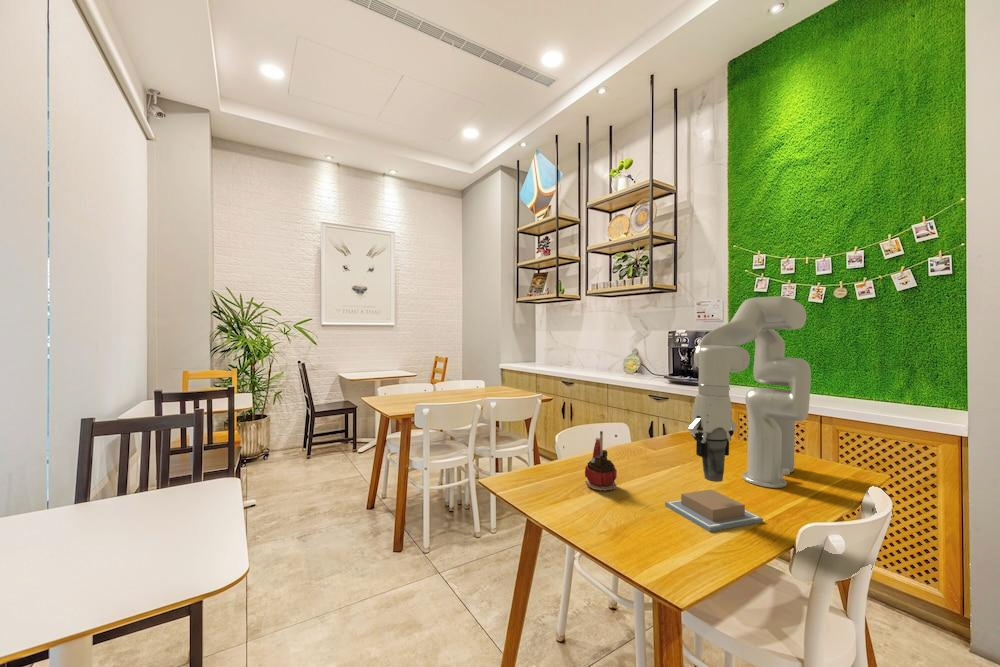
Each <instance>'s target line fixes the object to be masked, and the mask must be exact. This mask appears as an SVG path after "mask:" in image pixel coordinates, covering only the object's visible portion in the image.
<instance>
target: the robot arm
mask: <svg viewBox="0 0 1000 667" xmlns="http://www.w3.org/2000/svg"><path fill="white" fill-rule="evenodd" d="M806 311H807V310H806V308H805V307H804V306H803V304H802V303H800V302H798V301H796V300H794V299H793V298H790V297H788V296H783V295H781V296H780V295H779V296H778V295H774V296H757V297H750V298H747V299H745V300H743V302H742V303H741V304H740V305H739V307H738V308H737V311H736V312H735V314H734V315H733V317H732V318H731V320H730V322H728V323H726V324H723V325H721V326H719V327H717V328H715V329H713V330H711V331H710V332H707V333H706V334H705V335H704V336H702V338H701V339H700V341H699V342H698V344H697V346H696V348H695V350H694V354H693V362H694V364H695V366H696V367H697V368H698V393H697V395H696V396H695V399H694V404H693V409H692V410H693V411H692V418H691V420H692V423H691V424H690V425H689V427H688V428H687V429H688V431H689V433H690V435H691V437H692V438H693V439H694V441H695V442H696V444H695V445H696V452H695V453H696V454H695V455H697V456H698V457H700V458H702V457H703V458H707V443H705V442H706V439H707V437H708V434H709V433H712V432H713V430H715V429H716V428H723V429H724V430H725V431H726V434H727V438H728V440H727V445H726V449H725V457H727V456H728V457H729V455H730V442H731V440H732V436H733V435H734V434H735V433H734V432H735V431H736V429H737V428H738V425H737V424H736V423H735V422H734V420H733V409H732V402H731V397H730V391H731V388H730V373H741V372H744V371H745V370H746V369H747V368H748V367H749V365H750V363H751V356H750V353H749V351H748V350H747V349H746V348H743V347H742V346H741V345H745V344H748V343H750V342H755V347H754V348H755V349H754V359H753V360H754V361H753V369H752V370H753V372H752V373H753V379H754V380H755V381H756V382H757V383H760V384H764V385H771V386H772V385H773V386H781V387H790V389H791V390H786V389H777V388H768V387H755V388H751V389H749V390H748V391H747V392H746V394H745V398H744V399H745V406H746V412H747V413H746V414H747V428H748V430H747V431H748V433H747V471H745V472H743V473H742V479H743V480H744V481H746V482H747V483H750V484H753V485H756V486H760V487H765V488H771V489H772V488H773V489H780V488H786V487H787V485H788V484H787V483H788V482H787V480H786V479H785V478H783V476H787V475H790V474H791V473H790V470H789V469H781V451H782V432H781V429H780V427H779V425H778V424H777V422H776V421H775V420H774V418H779V419H786V420H792V421H795V422H801V421H803V422H804V421H805V420H806V419H807V417H808V415H809V411H810V410H809V409H810V399H811V386H812V385H811V381H812V369H811V366H810V364H809V363H808V361H807V360H805V359H804V358H800V357H799V358H798V357H785V355H786V352H785V351H786V342H785V341H784V339H783V338H782V336H781V335H780V334H779V333H778V331H776V330H798V329H801V328H803V326H804V325H805V324H806V321H807V312H806ZM702 429H703V431H702ZM701 433H703V436H702V437H701Z"/></svg>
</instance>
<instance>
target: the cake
mask: <svg viewBox="0 0 1000 667" xmlns="http://www.w3.org/2000/svg"><path fill="white" fill-rule="evenodd" d="M603 433H604V432H603V431H602V430H600V432H599V437H596V438H595V443H594V447H593V452H592V453H593V454H592V457H591V459H590V461H589V462H588V463H587V465H586V466H585V468H584V469H585V470H584V476H585V478H587V479H586V480H585V485H586V486H587V487H588V488H592V489H594V490H596V491H597V490H598V491H610V490H611V491H612V490H615V489H616V487H617V483H616V482H615V480H616V479H617V478H618V477H617V472H618V471H617V469H616V467H615V464H614V463H613V462H612V461H611V459H608V450H605V449H603V444H604V443H603V439H604V438H603V437H604V436H603V435H604V434H603Z"/></svg>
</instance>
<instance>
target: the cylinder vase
mask: <svg viewBox="0 0 1000 667" xmlns="http://www.w3.org/2000/svg"><path fill="white" fill-rule="evenodd" d="M774 420H775V421H776V422H777V424H778V425H779V427H780V429H781V432H782V451H781V469H789V470H790V472H791V473H793V472H794V471H795V442H796V441H795V435H796V434H795V431H796V430H795V428H796V427H795V426H796V421H792V420H786V419H779V418H774Z"/></svg>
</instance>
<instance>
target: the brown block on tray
mask: <svg viewBox="0 0 1000 667" xmlns="http://www.w3.org/2000/svg"><path fill="white" fill-rule="evenodd" d="M680 495H681V498H680V499H677V500H671V501H665V503H664V506H665V507H666V508H669V509H670V510H672V511H674V512H675V513H677V514H679V515H680V516H682V517H683V516H684V518H686V519H687V520H688V521H690V520H691V523H694V524H696V525H697V526H699V527H700V526H701V528H702V529H704V530H705V531H707V532H709V533H711V531H712V532H717V530H718V531H721V530H722V529H723V530H726V529H727V528H728V529H732V528H733V527H734V528H739V527H745V526H749V524H750V525H754V524H753V523H755V524H759V523H758V522H761V523H763V522H764V517H761V516H760V515H757V514H755V513H753V512H751V511H748V510H747V509H746V507H745V506H746V505H745V504H744V503H742V502H740V501H737V500H735V499H734V498H730V497H729V496H727V495H724V494H722V493H720V492H718V491H716V490H714V489H707V490H706V489H705V490H700V491H692V492H685V493H681V494H680ZM728 529H727V530H728ZM723 530H722V531H723Z"/></svg>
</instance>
